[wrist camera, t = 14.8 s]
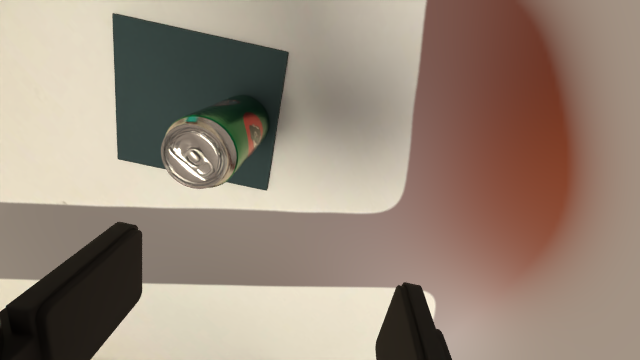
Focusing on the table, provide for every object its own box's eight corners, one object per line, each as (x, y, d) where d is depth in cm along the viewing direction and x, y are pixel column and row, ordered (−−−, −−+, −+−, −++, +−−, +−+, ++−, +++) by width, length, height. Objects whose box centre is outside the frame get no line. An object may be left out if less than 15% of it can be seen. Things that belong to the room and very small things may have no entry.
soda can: (247, 83, 30) (192, 101, 19) (281, 125, 32) (249, 166, 20) (209, 115, 32) (138, 149, 20) (244, 155, 33) (194, 207, 22)
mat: (115, 13, 29) (112, 13, 29) (288, 52, 29) (287, 51, 29) (120, 158, 34) (117, 159, 34) (267, 189, 35) (266, 190, 34)
